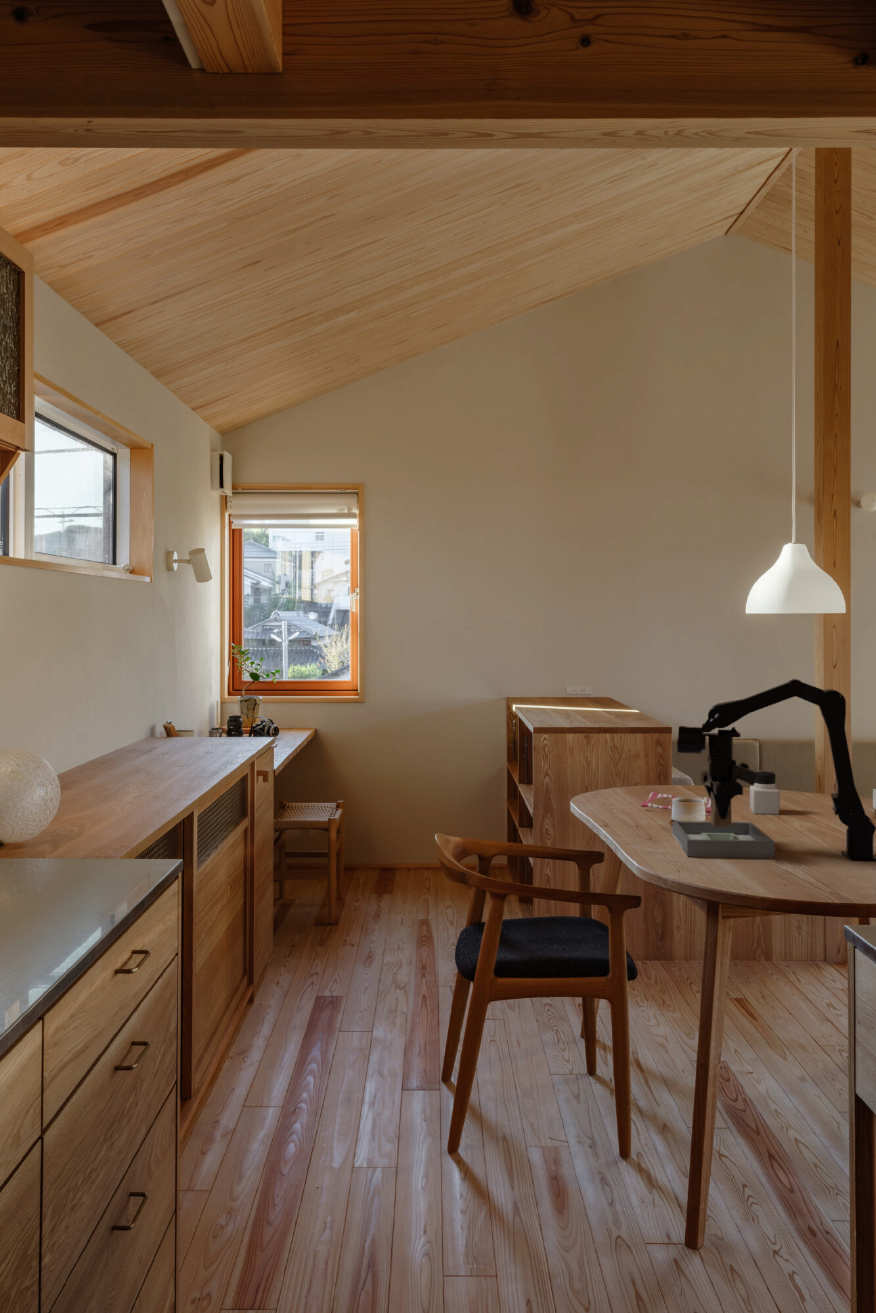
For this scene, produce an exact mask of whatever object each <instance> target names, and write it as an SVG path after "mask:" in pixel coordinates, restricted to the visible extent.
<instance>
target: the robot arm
mask: <svg viewBox="0 0 876 1313" xmlns="http://www.w3.org/2000/svg"><path fill="white" fill-rule="evenodd" d="M795 697H796V698H799V699H801V700H804V701H807V702H809V703H811V704H814V705H816V706H818V708H819V711H820V713H821V716H822V719H823V721H824V724H825V727H826V729H827V735H828V740H829V747H830V752H831V757H832V758H831V759H832V763H833V769H834V773H835V781H836V793H834V792H833V793H832V792H831V793H830V797H831V800H832V802H833V803H832V804H833V806H832V810H833V813H834V815H835V816H837V817H838V819H839V821H840V822H841V823H842V824H843V825H845V826H847V829H846V830H845V831H846V838H845V840H846V842H845V843H846V844H845V845H846V850H840V853H841V854H842V855H843V856H844V857H846V858H847V859H849V860H851V861H876V855H875V853H874V843H875V842H874V841H875V840H874V839H875V838H874V836H875V835H874V834H875V832H876V825H875V824H874V822H873V820H872V819H871V818H870V817H869V816H868V815H867V814H866V811H865V809H864V806H863V804H862V801H861V798H860V796H859V793H858V791H857V790H858V789H857V788H856V786H855V778H854V774H853V769H852V762H851V757H850V752H849V744H848V739H847V733H846V717H847V716H846V714H847V712H846V711H847V702H846V701H847V700H846V698H845V696H844V695H843V693H842V692H840V691H838V690H837V689H834V688H827V689H822V688H819V687H817V686H813V685H811V684H809V683H806V682H803V681H802V680H800V679H797V678H792V679H790V680H789V681H787V682H785V683H782V684H779V685H776V686H774V687H770V688H768V689H766V690H763V691H761V692H758V693H755V694H753V695H750V696H748V697H745V698H741V699H735V700H729V701H725V702H720V703H716V704H713V705H712V706H711V708H710V709H709V711H708V713H707V719H706V720H705V721H704V722H703V723H702V726H685V725H680V726H678V733H677V734H678V736H677V740H676V741H677V742H676V745H677V746H676V747H677V753H678V754H692V755H693V754H697V755H702V752H703V751H706V750H707V737H708V757H706V762H707V763H708V770H704V771H702V772H701V773H700V782H701V783H702V784H704V786H703V787H704V789H705V790H706V793H707V795H708V798H710V800H711V793H712V796H713V799H714V802H715V804H716V807H717V810H718V813H719V815H720V818H721V819H726V816H727V812H728V808H729V805H730V802H731V803H732V799H734V798H735V797H736V796H742V795H744V787H743V785H741V783H739V782H738V780H740V781H742V782H745V783H747V784H749V785H750V786H755V785H754V783H755V780H756V778H757V775H758V773H756V772H757V771H755V770H753V769H750V766H749V764H748V763H745V762H742V761H741V762H739V764H737V761H736V760H735V759H734V742H733V741H734V740H733V739H734V738H741V734H742V733H741V732H739V731H738V729H736V727H735V726H732V728H730V729H724V728H727V727H729V726H731V725H733V724H734V723H736V722H738V721H740V719H742V718H743V717H745V716H747V715H749V714H752V713H754V712H757V711H759V710H762V709H764V708H767V707H770V706H773V705H776V704H778V703H781V702H784V701H786V700H790V699H792V698H795ZM715 729H718V730H717V732H713V730H715ZM706 782H707V784H706Z"/></svg>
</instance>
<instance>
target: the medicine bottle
mask: <svg viewBox="0 0 876 1313" xmlns="http://www.w3.org/2000/svg"><path fill="white" fill-rule="evenodd" d="M755 772H756V773H758V775H757V778H756V780H755V783H754V785H750V786H749V809H750V811H751V812H752V813H753V814H754V815H773V816H775V815H777V816H779V815H780V790H779V789H778V788H777V787H776V774H775V772H772V771H769V770H757V771H755Z"/></svg>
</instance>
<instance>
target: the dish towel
mask: <svg viewBox="0 0 876 1313" xmlns="http://www.w3.org/2000/svg"><path fill="white" fill-rule="evenodd" d="M648 797H649V799H648V798H647V799H648V800H647V799H646V801H642V802H641V805H640V806H641V808H643V807H653V808H659V809H669V810H670V809H671V806H660V805H655V804H651V801H653V799H657V798H659V797H660V798H662V797H671V799H673V798H674V797H677V796H676V795H672V794H665V793H657V792H656V791H652V792H651V793H649V795H648ZM678 797H681V795H680V796H678ZM699 797H700V798H702V799H704V801H705V803H706V807H705V809H706V815H705V816H711V800H710V798H709V797H705V796H703V797H701V796H699Z"/></svg>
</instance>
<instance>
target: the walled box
mask: <svg viewBox="0 0 876 1313" xmlns="http://www.w3.org/2000/svg"><path fill="white" fill-rule="evenodd" d="M673 836H674V838H675V839H676V841H677V842H678V843H679V845H680V846H681V847H682V849H683V850H682V849H681V850H682V852H683V851H684V852H685V853H686V854H685V853H684V852H683V853H684V854H685V856H686V855H687V856H690V857H689V858H729V859H731V858H735V859H737V858H740V859H775V840H773V838H771V837H770V836H769V835H768V834H766V833H765V832H764V831H763V830H761V829H760V828H759V827H758V826H757V825H756V824H754V823H753V822H751V821H749V822H747V821H745V822H744V821H741V822H740V821H731V827H714V826H713V825H712V824H711V821H672V837H673ZM674 838H673V839H674ZM675 839H674V840H675ZM676 841H675V842H676ZM677 842H676V843H677ZM678 843H677V844H678ZM679 845H678V846H679ZM680 846H679V847H680ZM681 847H680V848H681ZM687 856H686V857H687ZM691 856H692V857H691Z"/></svg>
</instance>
